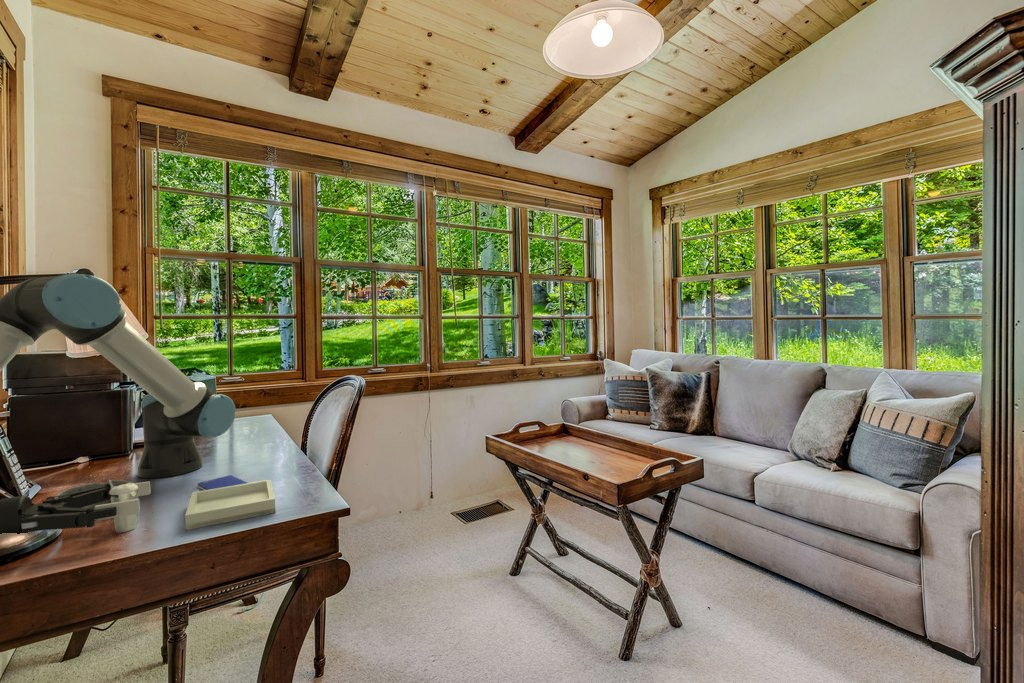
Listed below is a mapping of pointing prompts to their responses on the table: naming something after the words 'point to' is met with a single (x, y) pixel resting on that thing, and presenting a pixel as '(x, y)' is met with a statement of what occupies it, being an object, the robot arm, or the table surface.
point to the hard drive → (220, 482)
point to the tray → (230, 504)
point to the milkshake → (124, 494)
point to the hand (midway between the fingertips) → (145, 496)
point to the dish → (90, 486)
